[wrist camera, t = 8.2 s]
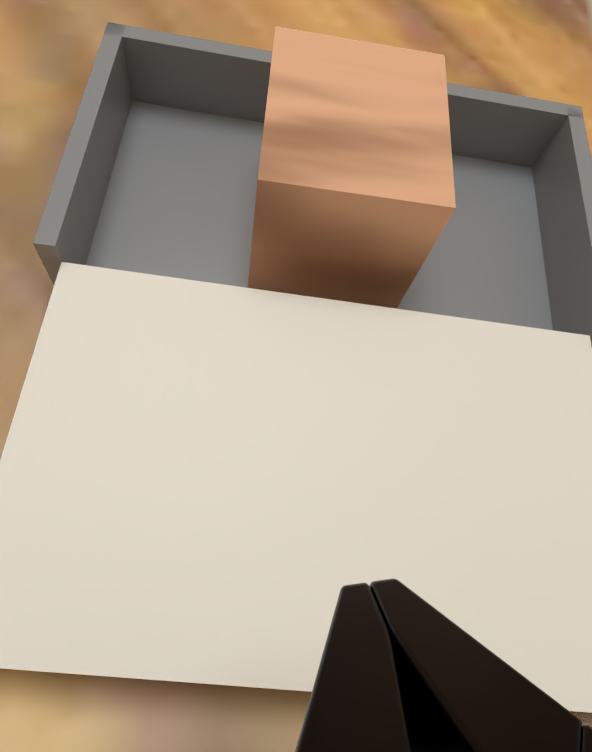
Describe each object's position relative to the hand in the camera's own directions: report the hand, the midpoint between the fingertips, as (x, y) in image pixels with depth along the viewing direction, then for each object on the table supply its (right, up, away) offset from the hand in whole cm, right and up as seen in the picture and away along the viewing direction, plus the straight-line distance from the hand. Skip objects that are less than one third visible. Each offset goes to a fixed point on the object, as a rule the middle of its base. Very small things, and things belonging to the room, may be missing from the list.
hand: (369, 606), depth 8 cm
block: (+1, +8, +14) cm, 16 cm away
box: (+1, +11, +19) cm, 22 cm away
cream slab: (0, -1, +14) cm, 14 cm away
